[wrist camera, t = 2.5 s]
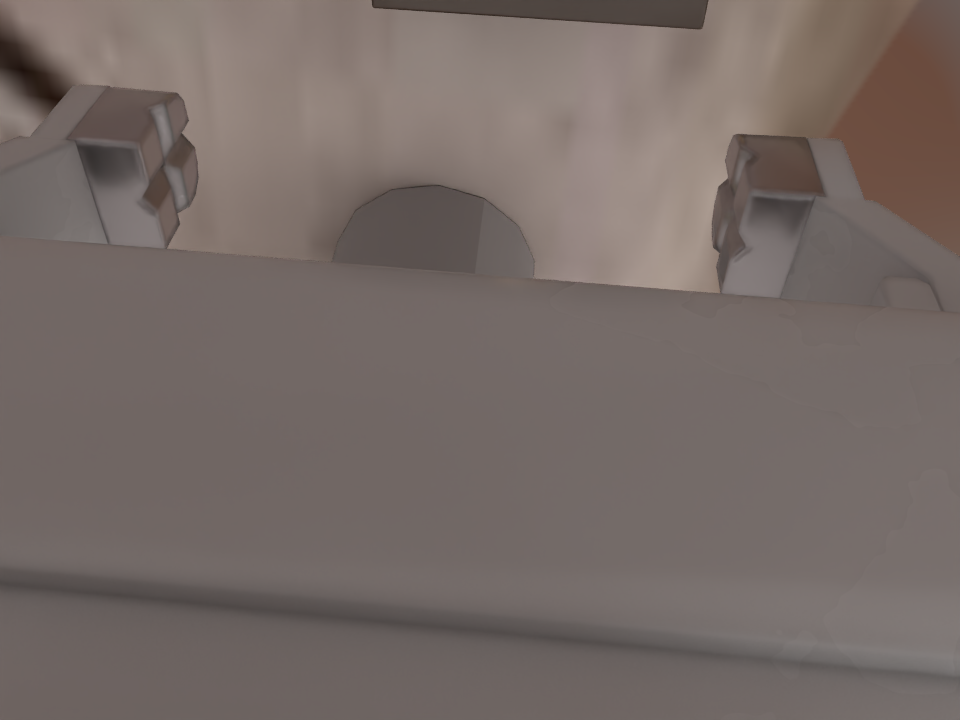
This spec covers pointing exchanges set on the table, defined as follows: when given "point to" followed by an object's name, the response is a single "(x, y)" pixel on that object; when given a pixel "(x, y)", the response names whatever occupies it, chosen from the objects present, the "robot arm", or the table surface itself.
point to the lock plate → (571, 10)
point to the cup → (435, 234)
